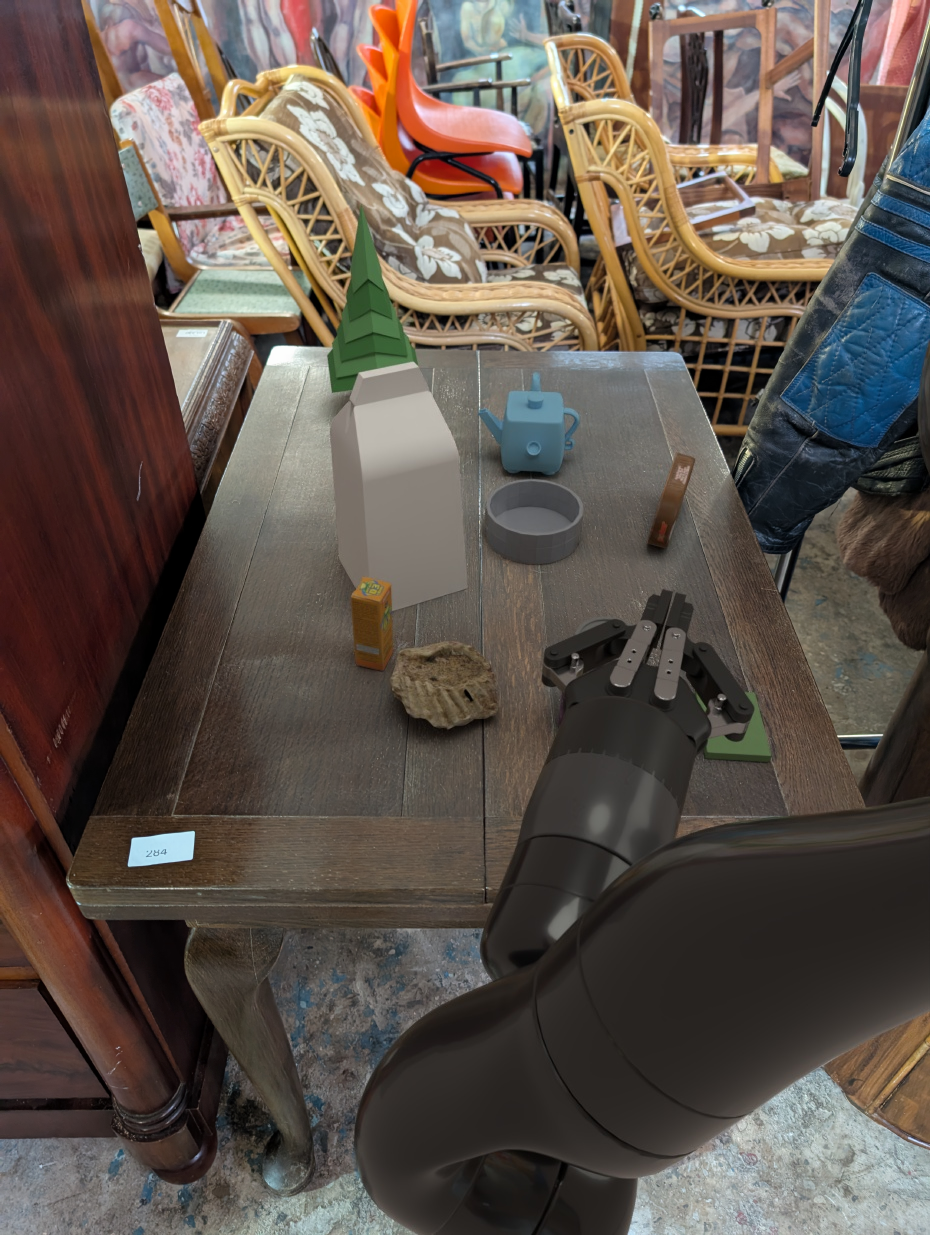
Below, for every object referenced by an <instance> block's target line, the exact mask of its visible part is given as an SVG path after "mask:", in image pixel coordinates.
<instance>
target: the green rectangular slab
mask: <svg viewBox="0 0 930 1235" xmlns="http://www.w3.org/2000/svg"><path fill="white" fill-rule="evenodd" d="M744 692H745V694H746V695H747V697H748V698H749V699H750V701H751V702H752V704H753V705H754V708H755V710H754V713H753V715H752V718H751V721H750V723H749V726H748V728H747V731H746V734H745V736H744V738H743V740H742V741H739V742H733V741H730V740H728V739H727V738H726V737H725V736H724V735H723V736H718V737H714V738H710V739H708V744H707V746H706V748H705V749H704V750H703V753H704V759H706V760H707V759H708V760H724V761H727V760H728V761H741V762H759V763H769V762H770V760H771V759H772V752H771V749H770V745H769V741H768V737H767V734H766V730H765V726H764V721H763V718H762V714H761V710H760V707H759V703H758V700H757V695H756V692H749V691H744ZM693 694H694V695H695V697H696V698H697V700H698V702H699V703H700V705H701V707H702V708H703V710H704V712H706V709H707V708H706V707H705V705H704V704H703V702H702V701H701V699H700V697H699V696H698V694H697V693H696V691H695V690H694V692H693Z"/></svg>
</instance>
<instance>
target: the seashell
mask: <svg viewBox="0 0 930 1235" xmlns="http://www.w3.org/2000/svg"><path fill="white" fill-rule="evenodd" d="M396 655H397V656H396V662H395V666H394V668H393V671H392V675H391V676H390V680H389V681H390V683H389V684H390V687H391V692H393V696H394V697H395V698H396V699H397V700H399V701H401V702H402V704H403V706H404V708H405V710H406V713H407V714H408V715H409V716H410V717H411V718H413V719H420V718H421V719H424V720H426V721H428V722H429V723H430V724H431V726H432V727H435V728H438V729H447V730H450V729H452V728H454V727H462V726H465V725H468V724H469V723H470V722H473V721H474V720H480V719H483V720H485V719H489V718H490V717H495V716H497V713H498V712H499V704H498V693H497V691H498V690H497V688H496V684H495V683H496V682H497V681H498V676H497V675H496V674H495V672H493V666H492V664H490V663H489V662H488V661H487V659H486V658H485V656H484V655H483V654H482V653H480V652H479V651H478V650H476V649H475V647H474V646H473V645H471V644H465V643H463V642H461V641H456V640H455V641H451V640H445V641H440V642H437V643H431V644H428V645H424V646H420V647H417V646H416V647H410V648H404V649H401V650H399V651H398V653H397V654H396Z"/></svg>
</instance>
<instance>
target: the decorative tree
mask: <svg viewBox="0 0 930 1235" xmlns="http://www.w3.org/2000/svg"><path fill="white" fill-rule="evenodd" d="M365 214H366V213H365V211H364V208H363V204H360V209H359V214H358V220H357V226H356V232H355V233H356V234H355V239H354V244H353V245H354V246H353V250H352V256H351V262H350V269H349V270H350V272H349V273H350V281H349V284H348V288H347V291H346V295H345V300H346V302H345V305H344V307H343V309H342V312H341V321H340V322H339V325H338V326H337V328H336V336H335V338H334V339H333V341H332V342H331V347H332V348H331V350H330V351H329V352H328V353H327V355H326V359H327V366H328V371H329V372H328V374H329V383H330V391H331V394H335V393H343V392H349V391H351V392H352V390H353V387H354V384H355V382H356V379H357V376H358V373H359V372H364V371H369V370H374V369H379V368H384V367H389V366H394V365H399V364H404V363H409V362H415V364H416V365H417V366H418V367H419V363H418V357H417V352H416V348H415V347H414V346H413V345H412V344H411V341H410V337H409V336H408V335H407V334H406V332H405V331H404V325H403V323H402V322H401V320H400V319H399V318H398V315H397V310H396V308H395V306H394V304H393V303H392V301H391V298H390V291H389V290H388V288H387V286H386V283H385V280H384V278H383V272H382V266H381V263H380V262H381V261H380V260H379V257H378V252H377V250H376V246H375V244H374V240H373V237H372V234H371V230H370V227H369V224H368V220H367V217H366V215H365Z"/></svg>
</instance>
